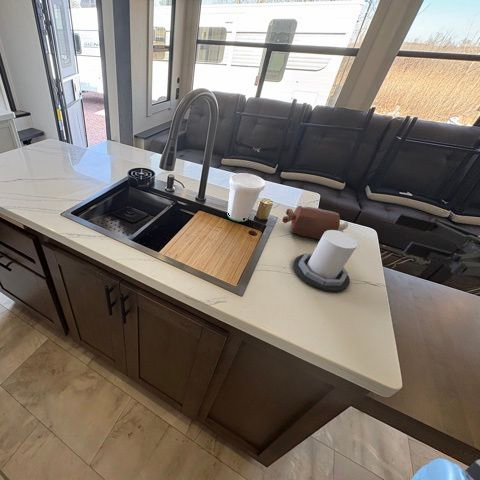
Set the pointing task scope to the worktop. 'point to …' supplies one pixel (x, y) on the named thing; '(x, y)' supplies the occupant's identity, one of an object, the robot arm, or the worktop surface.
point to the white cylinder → (331, 254)
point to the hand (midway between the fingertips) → (401, 231)
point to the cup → (243, 195)
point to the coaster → (315, 285)
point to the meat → (313, 221)
